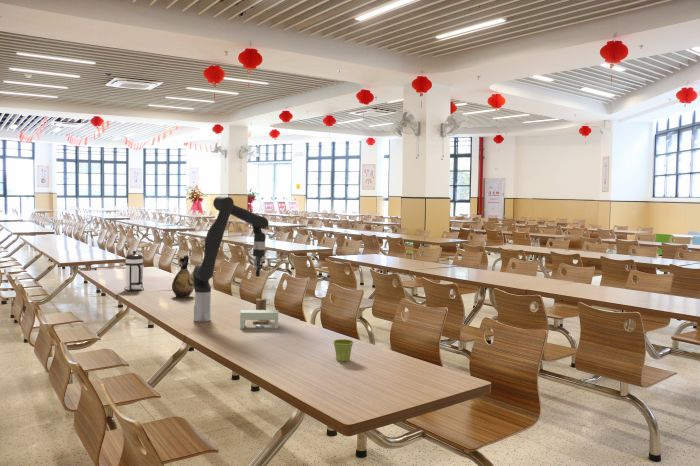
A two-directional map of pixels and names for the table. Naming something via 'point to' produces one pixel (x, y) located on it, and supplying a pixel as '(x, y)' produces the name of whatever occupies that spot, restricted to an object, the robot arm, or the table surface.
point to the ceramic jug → (183, 280)
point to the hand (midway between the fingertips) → (257, 276)
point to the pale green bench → (258, 316)
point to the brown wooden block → (260, 306)
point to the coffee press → (134, 271)
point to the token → (259, 325)
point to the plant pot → (343, 349)
